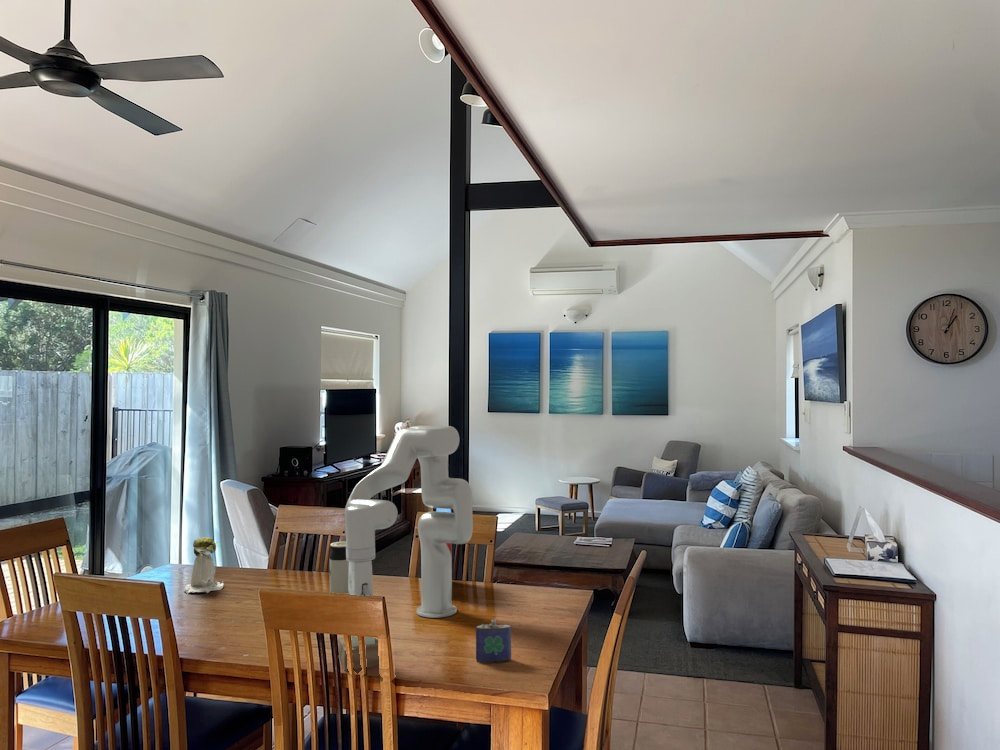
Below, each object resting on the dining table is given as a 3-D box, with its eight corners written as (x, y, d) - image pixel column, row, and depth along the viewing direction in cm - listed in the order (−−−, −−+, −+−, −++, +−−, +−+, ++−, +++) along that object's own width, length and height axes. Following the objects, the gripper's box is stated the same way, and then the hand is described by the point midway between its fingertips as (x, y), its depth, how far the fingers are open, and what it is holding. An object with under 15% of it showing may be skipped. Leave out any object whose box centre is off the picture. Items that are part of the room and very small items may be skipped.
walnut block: (338, 657, 196) (338, 638, 196) (376, 652, 200) (376, 633, 200) (344, 670, 187) (344, 650, 187) (384, 665, 190) (383, 645, 190)
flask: (510, 658, 194) (510, 617, 194) (512, 662, 191) (511, 620, 192) (475, 659, 193) (475, 618, 194) (476, 664, 191) (475, 622, 191)
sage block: (347, 639, 195) (347, 616, 195) (370, 636, 197) (370, 613, 197) (351, 647, 189) (351, 623, 189) (374, 643, 192) (374, 620, 192)
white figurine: (176, 591, 262) (176, 539, 262) (206, 582, 273) (206, 532, 273) (199, 596, 256) (199, 542, 256) (229, 586, 267) (228, 535, 267)
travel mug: (356, 593, 257) (356, 541, 258) (349, 600, 249) (349, 546, 250) (334, 593, 258) (333, 541, 258) (326, 599, 250) (326, 545, 250)
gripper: (340, 547, 201) (342, 610, 201) (352, 562, 184) (353, 631, 185) (368, 544, 203) (369, 606, 203) (381, 559, 187) (383, 626, 187)
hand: (362, 618), depth 194 cm, fingers open, 9 cm apart
